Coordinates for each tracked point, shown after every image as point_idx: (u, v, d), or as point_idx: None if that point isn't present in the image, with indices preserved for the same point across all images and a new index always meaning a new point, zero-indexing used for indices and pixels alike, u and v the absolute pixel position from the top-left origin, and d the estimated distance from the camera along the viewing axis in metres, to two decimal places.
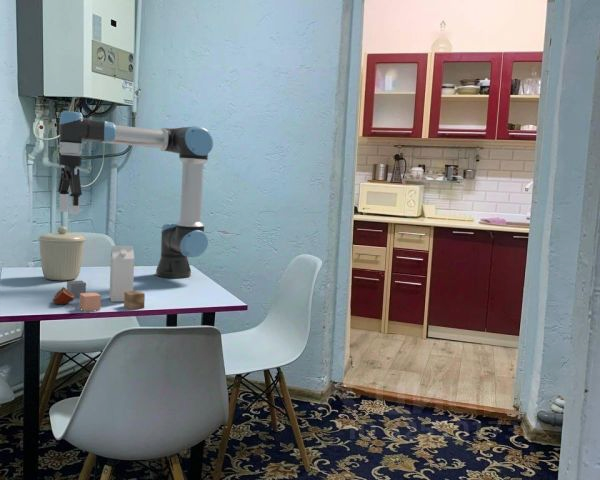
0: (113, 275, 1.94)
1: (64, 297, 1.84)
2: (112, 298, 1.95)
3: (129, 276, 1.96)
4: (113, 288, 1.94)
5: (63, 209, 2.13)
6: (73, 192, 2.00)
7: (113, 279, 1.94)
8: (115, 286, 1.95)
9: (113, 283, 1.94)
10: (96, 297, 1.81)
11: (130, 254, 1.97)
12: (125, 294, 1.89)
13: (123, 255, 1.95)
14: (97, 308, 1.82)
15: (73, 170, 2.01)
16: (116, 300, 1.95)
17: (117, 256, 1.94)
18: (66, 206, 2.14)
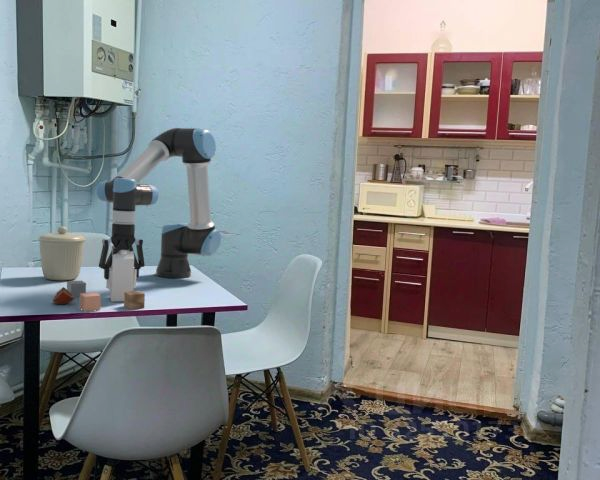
0: (113, 275, 1.94)
1: (64, 297, 1.84)
2: (112, 298, 1.95)
3: (129, 276, 1.96)
4: (113, 288, 1.94)
5: None
6: None
7: (113, 279, 1.94)
8: (115, 286, 1.95)
9: (113, 283, 1.94)
10: (96, 297, 1.81)
11: (129, 254, 1.97)
12: (125, 294, 1.89)
13: (123, 255, 1.95)
14: (97, 308, 1.82)
15: (102, 241, 1.94)
16: (116, 300, 1.95)
17: (117, 256, 1.94)
18: (133, 281, 2.00)
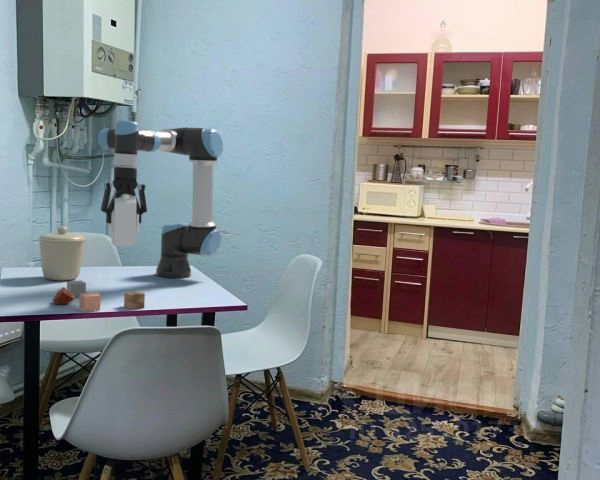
0: (115, 219, 1.92)
1: (64, 297, 1.84)
2: (114, 242, 1.93)
3: (132, 220, 1.94)
4: (115, 232, 1.93)
5: None
6: None
7: (115, 223, 1.92)
8: (117, 230, 1.93)
9: (115, 227, 1.92)
10: (96, 297, 1.81)
11: (132, 198, 1.95)
12: (125, 294, 1.89)
13: (125, 199, 1.93)
14: (97, 308, 1.82)
15: (104, 185, 1.92)
16: (118, 244, 1.94)
17: (119, 200, 1.93)
18: (136, 227, 1.99)
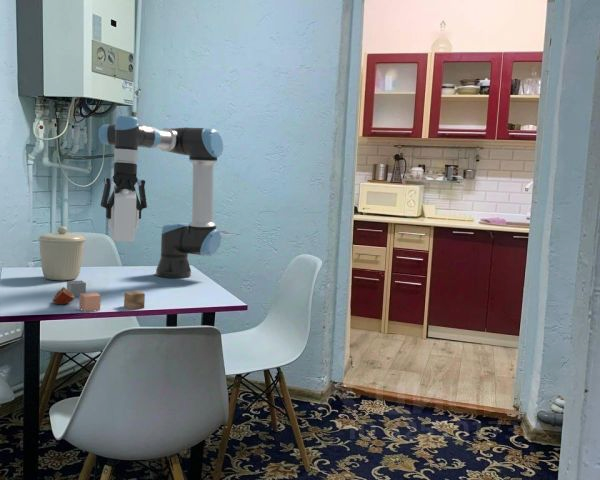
0: (115, 214, 1.92)
1: (64, 297, 1.84)
2: (114, 238, 1.93)
3: (131, 215, 1.94)
4: (115, 227, 1.92)
5: None
6: None
7: (115, 218, 1.92)
8: (117, 225, 1.92)
9: (115, 222, 1.92)
10: (96, 297, 1.81)
11: (132, 194, 1.94)
12: (125, 294, 1.89)
13: (125, 194, 1.93)
14: (97, 308, 1.82)
15: (104, 180, 1.91)
16: (118, 240, 1.93)
17: (119, 195, 1.92)
18: None
